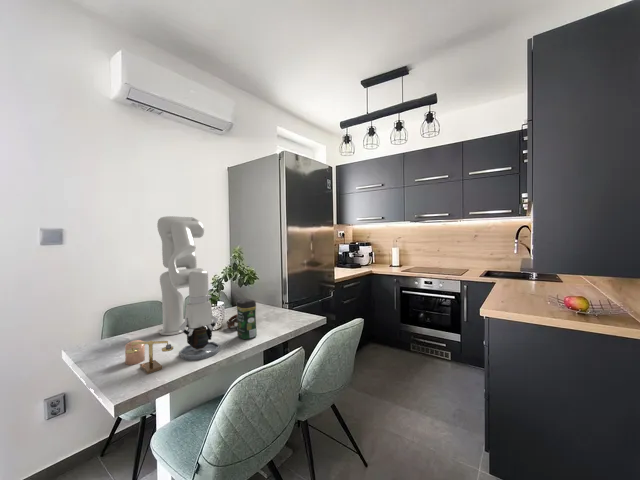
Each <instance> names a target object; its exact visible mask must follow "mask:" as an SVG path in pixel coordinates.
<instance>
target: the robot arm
mask: <svg viewBox="0 0 640 480" xmlns="http://www.w3.org/2000/svg"><path fill="white" fill-rule="evenodd" d="M156 225H157V226H156V227H157V232H158V235H159V237H160V240H161V251H162V252H161V253H162V254H161V255H162V265H163V266H164V268H166V269H167V271H165V272H163V273H161V275H160V276H159V284H160V290H161V302H162V303H161V305H162V307H161V308H162V329H160V330H159V335H161V336H174V335H179V334H182V333H184V334H185V335H186V343H187V344H188V345H193V335H192V332H193V330H194V329H196V328H200V327H202V326H204V327H206V331H207V334H208V337H209V340H208V341H212V336H213V330H214V327H215V326H216V324H217V323H218V321H219V318H218V317H216V316H215V315H213V308H212V305H211V304H212V303H211V301H210V299H212V295H211V294H210V293H209V272H208V271H207V270H205V269H203V268H199V267H197V265H198V264H197V256H196V252H195V251H196V250H197V249H196V244H195V240H194V239H201V238H203V237H204V235H205V227H204V225H203V222H201V221H200V220H199V219H197V218H195V217H193V216H192V217H189V216H174V215H173V216H170V215H169V216H168V215H167V216H162V217H160V218H158V219H157V224H156ZM178 268H179V269H178ZM181 268H182V269H181ZM184 268H185V269H184ZM185 288H188V302H189V303H187V304H186V306H185V307H186V309H185V317H184V297H183V295H182V293H181V292H179V289H185Z"/></svg>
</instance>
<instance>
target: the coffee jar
mask: <svg viewBox="0 0 640 480" xmlns="http://www.w3.org/2000/svg"><path fill="white" fill-rule="evenodd" d="M236 310H237V311H236V312H237V321H238V323H237V328H236V329H237V331H236V332H237V336H238V337H239V338H240V339H242V340H251V339H254V338H255V337H257V335H258V334H257V333H258V332H257V318H256V317H257V316H256V314H257V311H256V310H257V302H256V300H254V299H251V298H248V297H243V298H239V299H237V300H236Z"/></svg>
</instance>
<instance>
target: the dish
mask: <svg viewBox="0 0 640 480" xmlns="http://www.w3.org/2000/svg"><path fill="white" fill-rule="evenodd" d="M220 348H221V344H219V343H217V342H215V341H208V344H207V345H206V346H205V347H204V348H201V349H195V348H193V347H192V346H191V345H189V344H188V345H186V346H184V347H183V348H182V349H181V350H180V351H178V354H179V355H180V359H182V360H185V361H200V360H204V359H208V358H211V357H213V356H216V355H217V354H218V353H219V352H220Z"/></svg>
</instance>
